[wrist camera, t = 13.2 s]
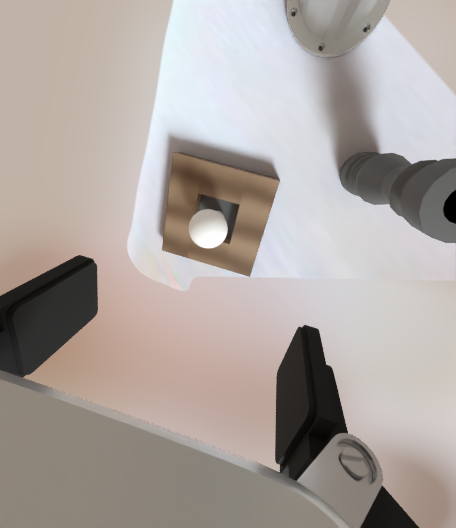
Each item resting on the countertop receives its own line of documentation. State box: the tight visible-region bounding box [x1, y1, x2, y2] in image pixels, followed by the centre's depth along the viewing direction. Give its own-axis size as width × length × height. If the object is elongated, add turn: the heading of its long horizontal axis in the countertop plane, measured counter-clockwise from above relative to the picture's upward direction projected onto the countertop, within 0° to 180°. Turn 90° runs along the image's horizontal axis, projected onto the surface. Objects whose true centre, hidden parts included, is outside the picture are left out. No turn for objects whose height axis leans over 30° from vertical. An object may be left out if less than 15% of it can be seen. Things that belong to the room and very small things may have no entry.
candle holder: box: [340, 152, 456, 243], centre depth 28 cm, size 6×6×25 cm
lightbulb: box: [189, 209, 228, 248], centre depth 41 cm, size 6×6×11 cm
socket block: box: [162, 153, 280, 277], centre depth 45 cm, size 18×18×3 cm
